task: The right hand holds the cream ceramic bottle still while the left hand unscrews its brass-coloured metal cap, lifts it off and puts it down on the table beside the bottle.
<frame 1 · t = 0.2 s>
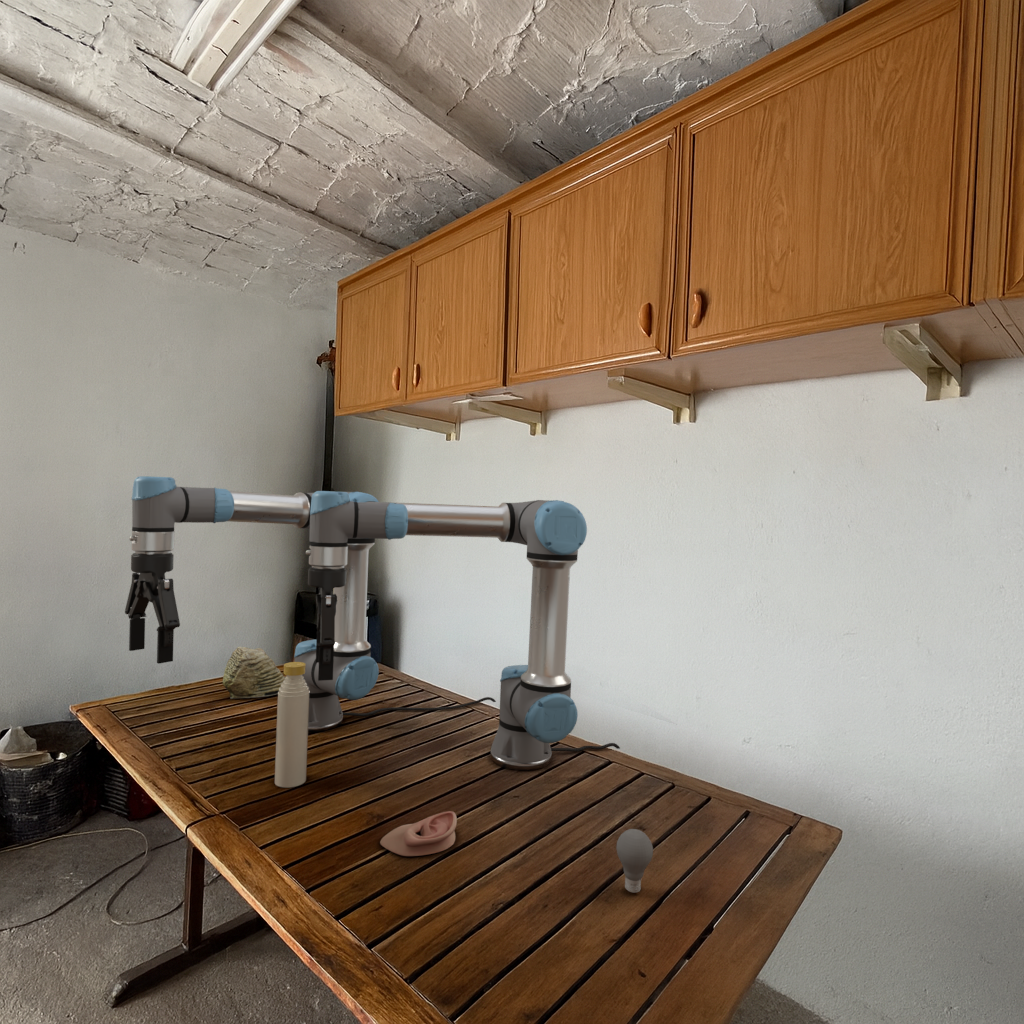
left hand: (150, 655, 129), 29 cm above the table, tool pointing down, fingers open, 13 cm apart
right hand: (323, 670, 129), 28 cm above the table, tool pointing down, fingers open, 13 cm apart
bottle: (290, 780, 141), on the table
fossil: (254, 694, 198), on the table
cap: (294, 665, 140), point 26 cm above the table, screwed on, not yet turned
anatomical model: (418, 841, 118), on the table
light bulb: (632, 891, 106), on the table
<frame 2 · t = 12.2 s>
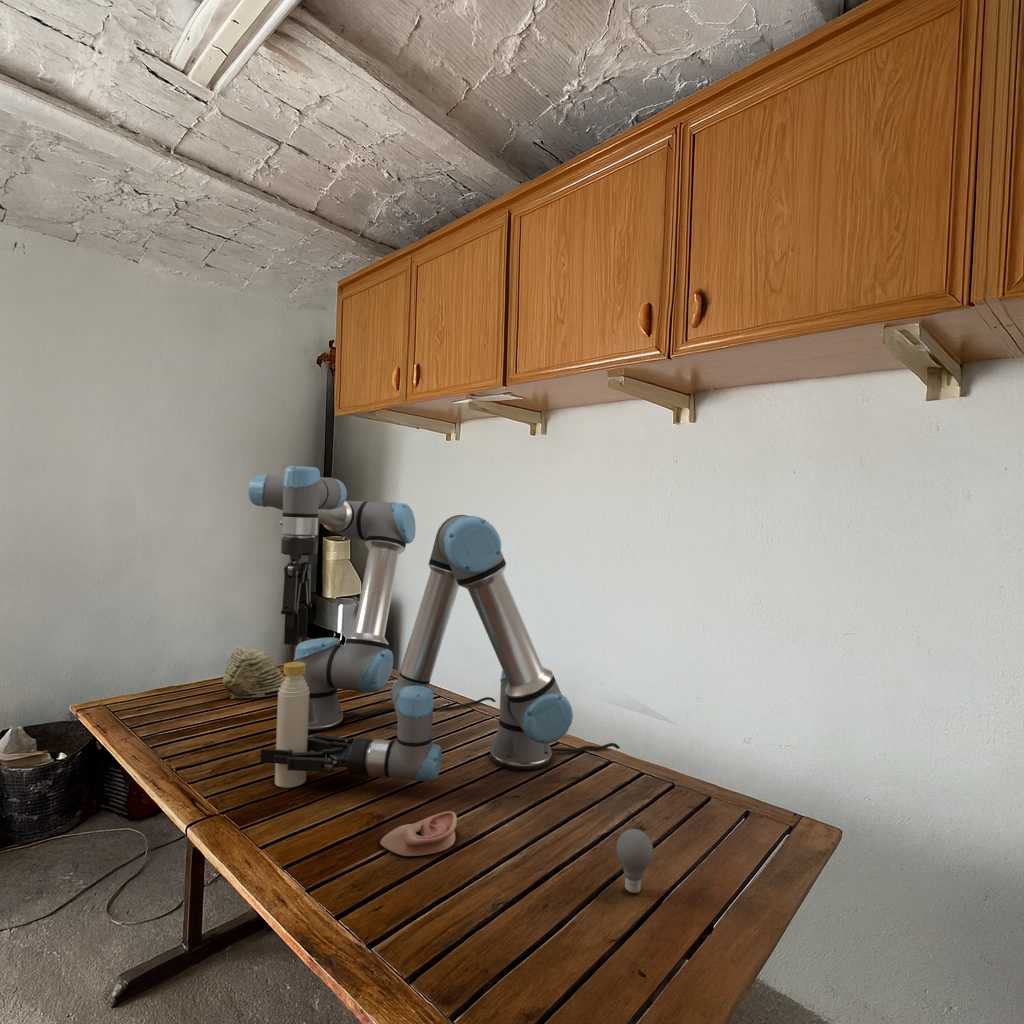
left hand: (295, 640, 140), 31 cm above the table, tool pointing down, fingers open, 7 cm apart
right hand: (270, 748, 141), 7 cm above the table, tool horizontal, fingers closed on bottle, 7 cm apart
bottle: (290, 780, 141), on the table, touching right hand
everything else where it was.
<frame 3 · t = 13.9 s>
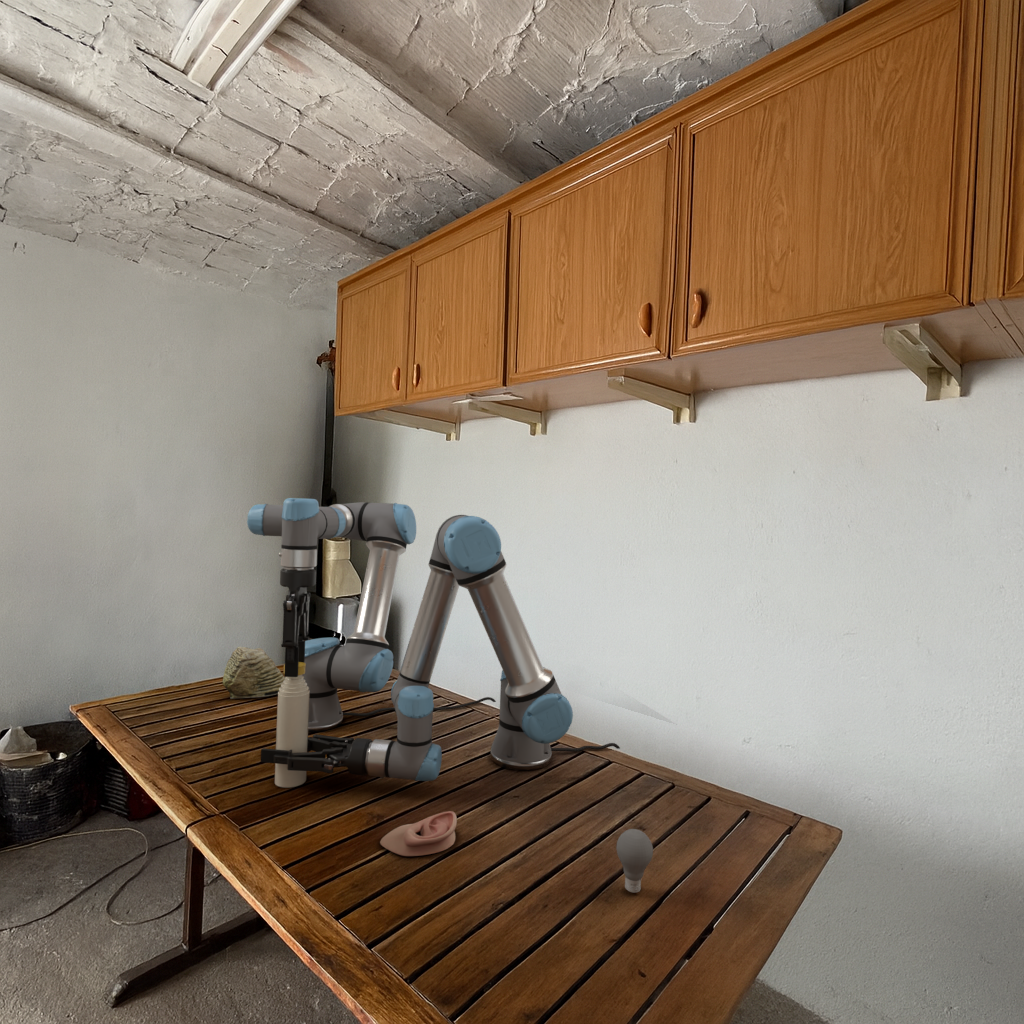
left hand: (294, 672, 140), 24 cm above the table, tool pointing down, fingers closed on cap, 4 cm apart
right hand: (270, 748, 141), 7 cm above the table, tool horizontal, fingers closed on bottle, 7 cm apart
bottle: (290, 780, 141), on the table, touching right hand
cap: (294, 665, 140), point 26 cm above the table, screwed on, not yet turned, touching left hand
everything else where it was.
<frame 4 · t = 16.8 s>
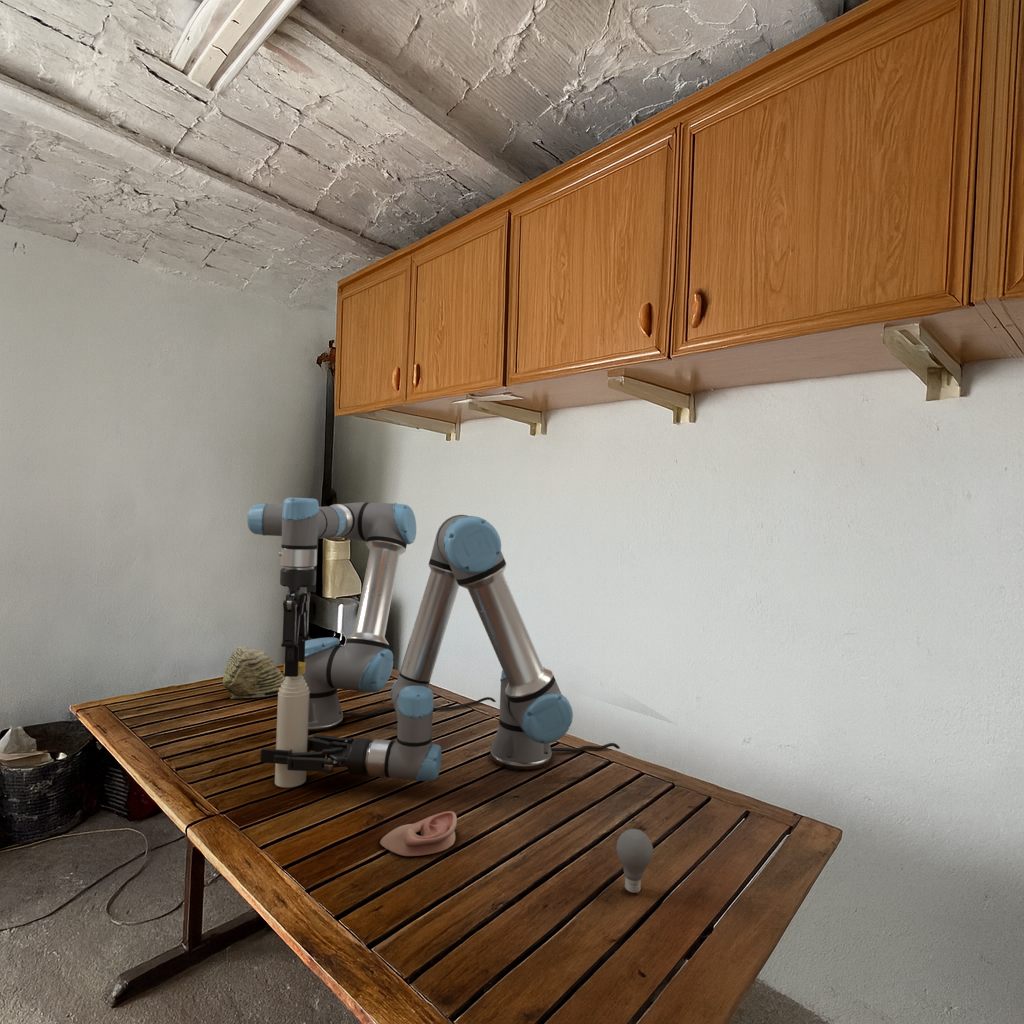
left hand: (294, 672, 140), 24 cm above the table, tool pointing down, fingers closed on cap, 4 cm apart
right hand: (270, 748, 141), 7 cm above the table, tool horizontal, fingers closed on bottle, 7 cm apart
bottle: (290, 780, 141), on the table, touching right hand
cap: (294, 665, 140), point 26 cm above the table, turned 85° so far, risen 0.1 cm, still on its thread, touching left hand
everything else where it was.
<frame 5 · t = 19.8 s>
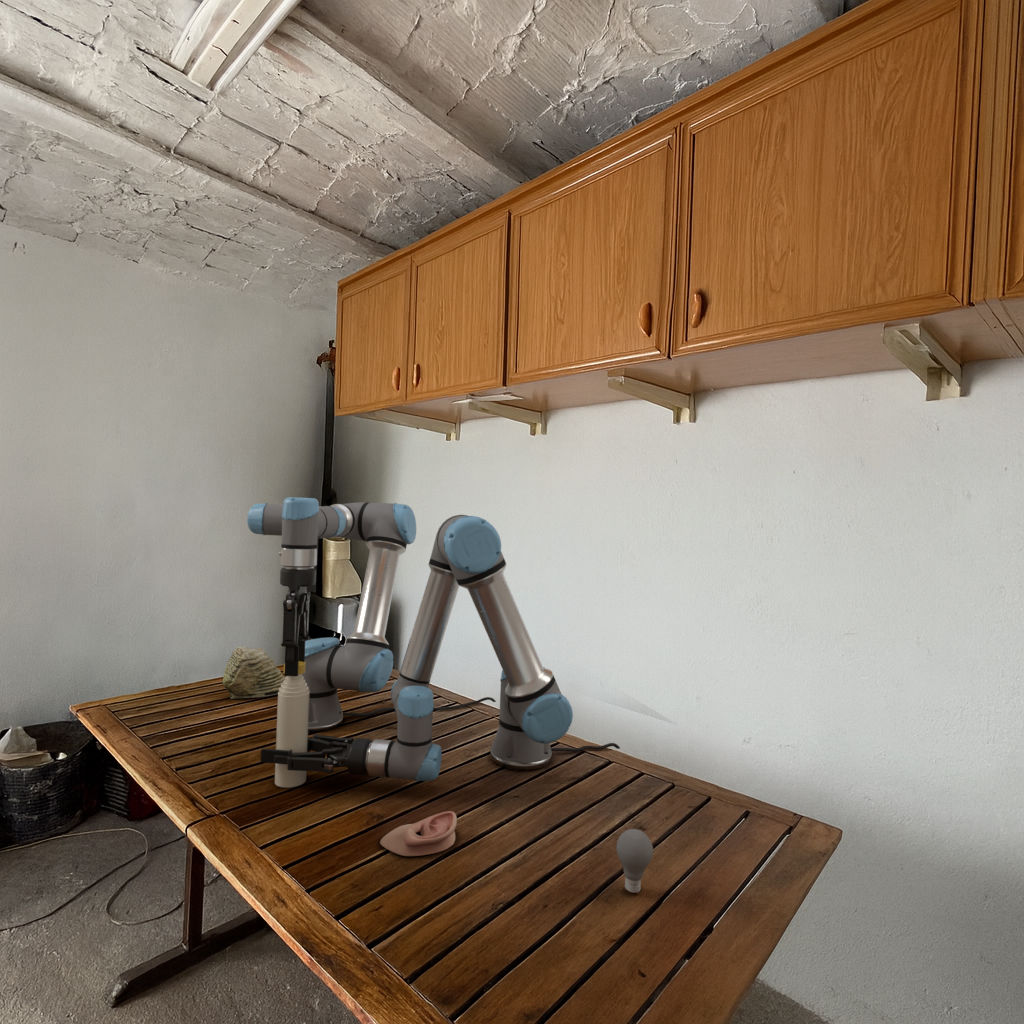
left hand: (294, 672, 140), 24 cm above the table, tool pointing down, fingers closed on cap, 4 cm apart
right hand: (270, 748, 141), 7 cm above the table, tool horizontal, fingers closed on bottle, 7 cm apart
bottle: (290, 780, 141), on the table, touching right hand
cap: (294, 665, 140), point 26 cm above the table, turned 171° so far, risen 0.2 cm, still on its thread, touching left hand
everything else where it was.
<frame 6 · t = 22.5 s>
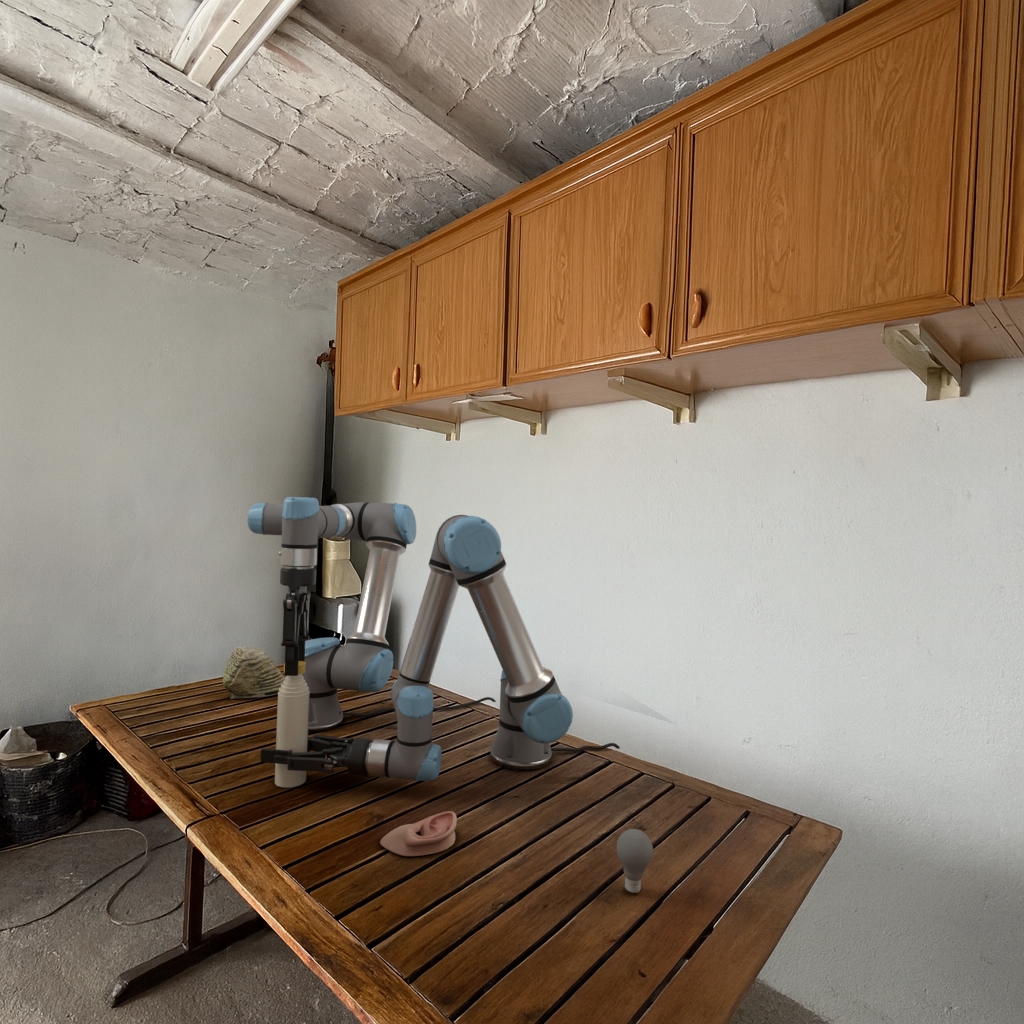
left hand: (294, 671, 140), 24 cm above the table, tool pointing down, fingers closed on cap, 4 cm apart
right hand: (270, 748, 141), 7 cm above the table, tool horizontal, fingers closed on bottle, 7 cm apart
bottle: (290, 780, 141), on the table, touching right hand
cap: (294, 664, 140), point 26 cm above the table, turned 256° so far, risen 0.2 cm, still on its thread, touching left hand
everything else where it was.
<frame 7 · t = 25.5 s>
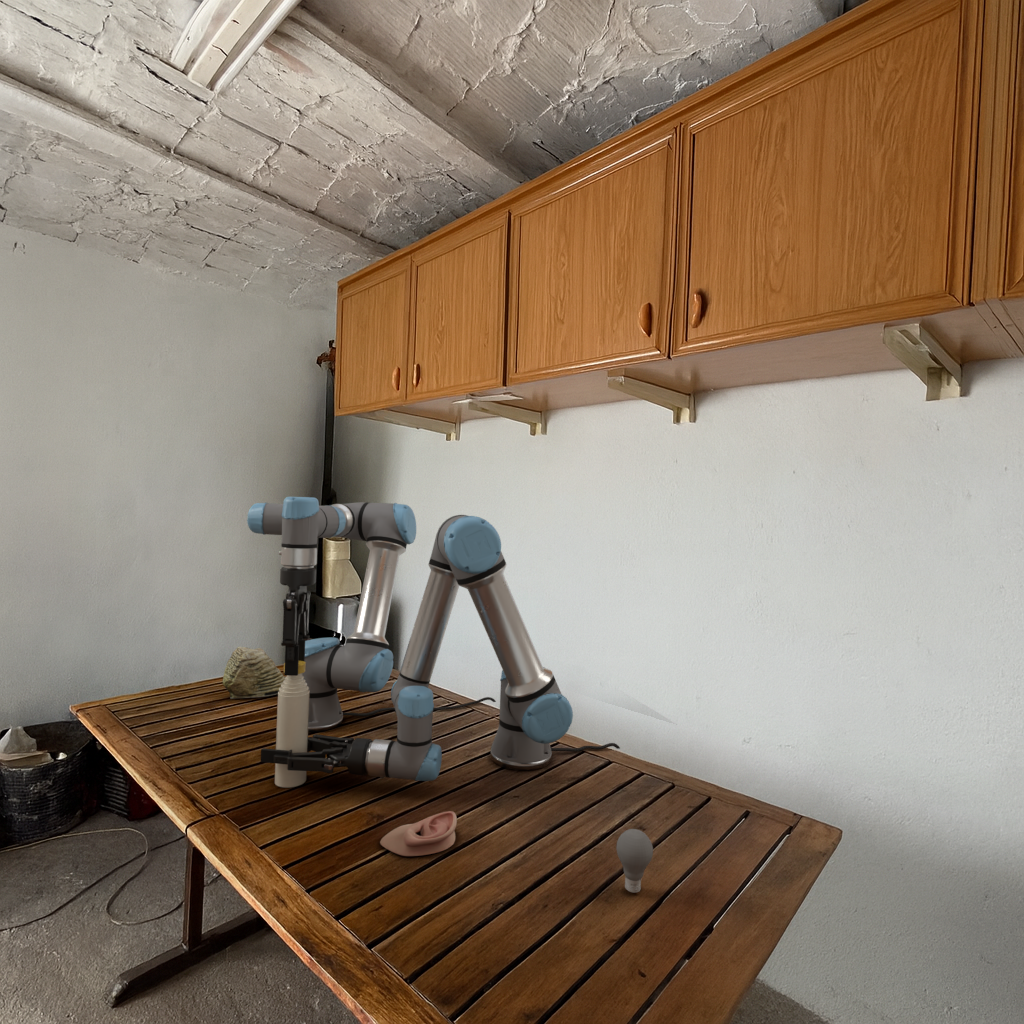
left hand: (294, 671, 140), 24 cm above the table, tool pointing down, fingers closed on cap, 4 cm apart
right hand: (270, 748, 141), 7 cm above the table, tool horizontal, fingers closed on bottle, 7 cm apart
bottle: (290, 780, 141), on the table, touching right hand
cap: (294, 664, 140), point 26 cm above the table, turned 341° so far, risen 0.3 cm, still on its thread, touching left hand
everything else where it was.
when the left hand's fingers open (1 cm above the table, at t = 33.5 s): cap drops 1 cm, point 2 cm above the table.
when the right hand's fingers open (7 cm above the table, at t = 34.7 s): bottle stays where it is, on the table.
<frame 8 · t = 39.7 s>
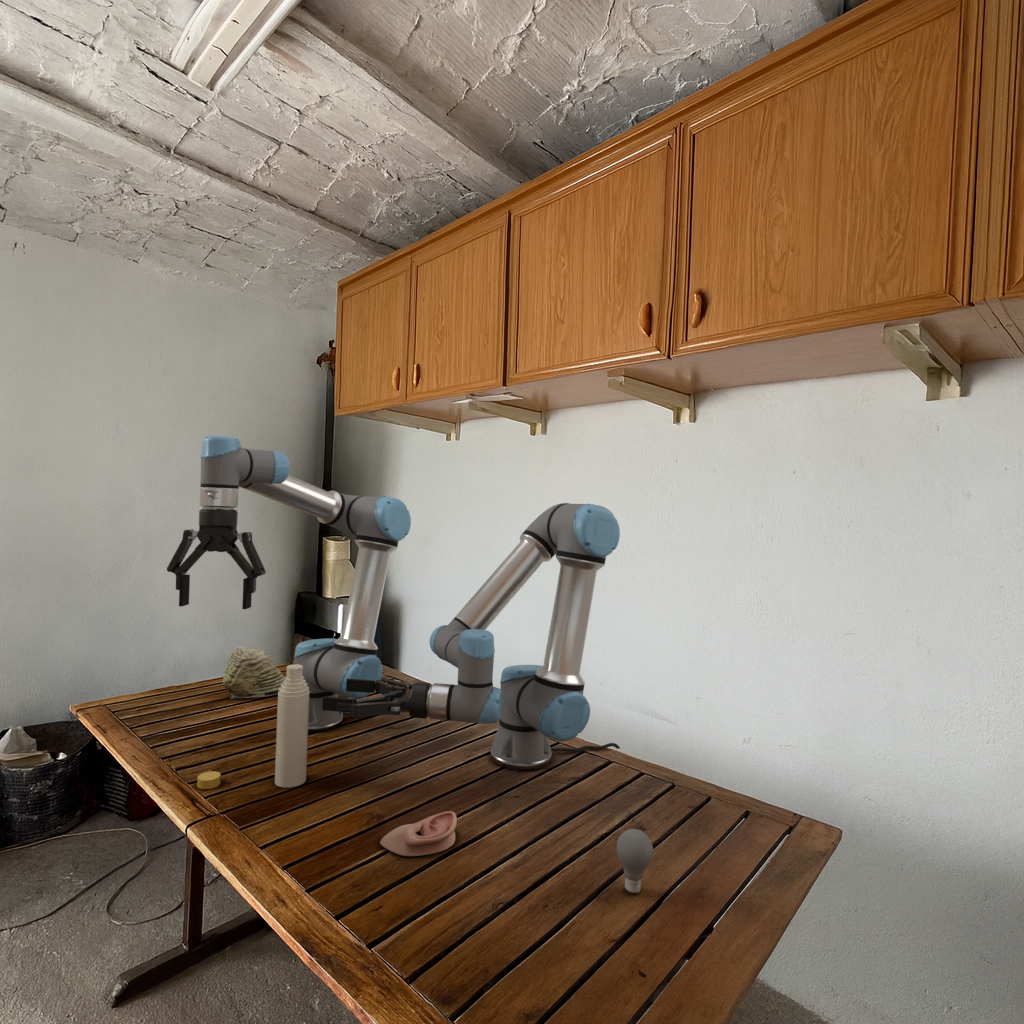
left hand: (215, 606, 136), 39 cm above the table, tool pointing down, fingers open, 13 cm apart
right hand: (335, 693, 139), 20 cm above the table, tool horizontal, fingers open, 13 cm apart
bottle: (290, 780, 141), on the table
cap: (209, 777, 137), point 2 cm above the table, off its thread
everything else where it was.
at the end: cap came off its thread; cap point 1.6 cm above the table; the left hand is holding nothing; the right hand is holding nothing; bottle tilted 0°; bottle moved 0.0 cm from its start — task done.
